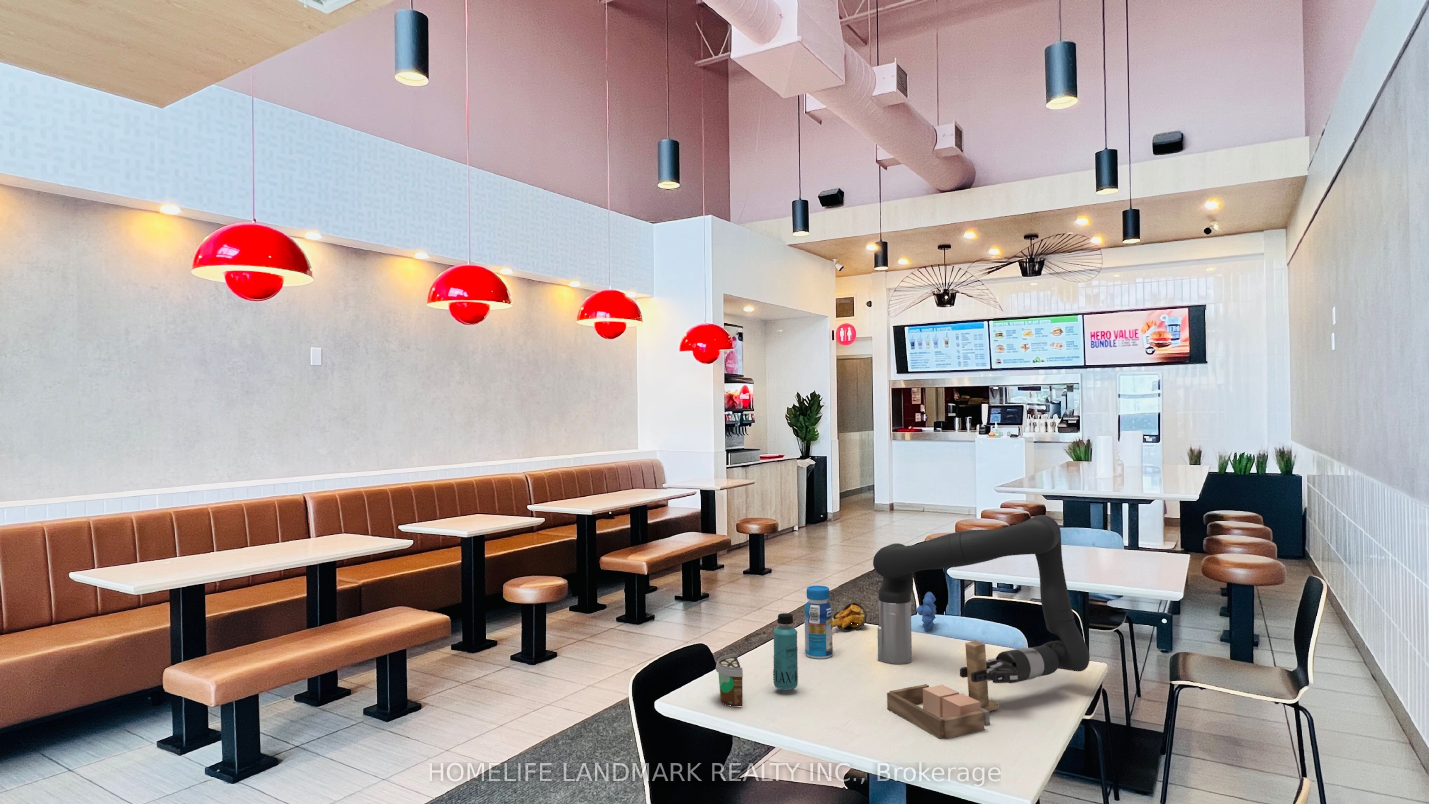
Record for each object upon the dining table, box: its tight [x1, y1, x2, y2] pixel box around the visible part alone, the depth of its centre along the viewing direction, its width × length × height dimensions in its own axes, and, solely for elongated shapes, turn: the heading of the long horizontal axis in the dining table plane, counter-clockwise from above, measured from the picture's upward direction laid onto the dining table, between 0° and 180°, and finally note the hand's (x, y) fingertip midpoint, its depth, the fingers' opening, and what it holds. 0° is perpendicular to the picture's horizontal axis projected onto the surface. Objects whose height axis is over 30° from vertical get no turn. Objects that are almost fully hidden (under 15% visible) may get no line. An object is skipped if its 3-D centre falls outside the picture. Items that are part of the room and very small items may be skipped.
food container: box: [715, 653, 744, 707], centre depth 200 cm, size 12×6×10 cm, turn 5°
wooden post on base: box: [965, 640, 999, 726], centre depth 191 cm, size 9×15×16 cm, turn 25°
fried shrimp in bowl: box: [832, 601, 868, 633], centre depth 261 cm, size 9×11×18 cm
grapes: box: [915, 591, 937, 632], centre depth 262 cm, size 12×7×12 cm, turn 155°
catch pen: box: [886, 683, 985, 740], centre depth 187 cm, size 12×20×4 cm, turn 24°
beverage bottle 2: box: [803, 584, 834, 660], centre depth 236 cm, size 8×8×20 cm
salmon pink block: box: [942, 693, 980, 719], centre depth 185 cm, size 6×6×5 cm
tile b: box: [922, 684, 960, 719], centre depth 192 cm, size 6×6×5 cm
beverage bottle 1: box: [772, 612, 799, 691], centre depth 206 cm, size 6×7×20 cm
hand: (966, 675), depth 190 cm, fingers closed on wooden post on base, 3 cm apart
